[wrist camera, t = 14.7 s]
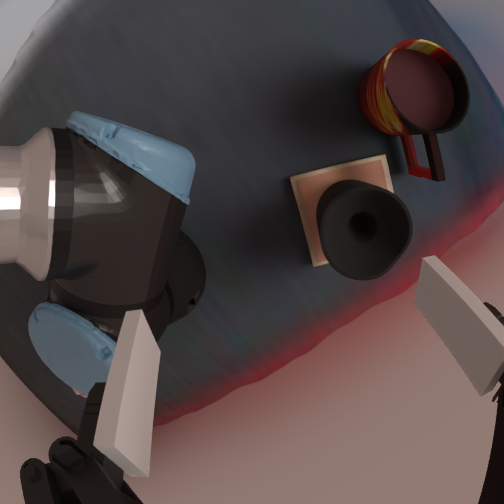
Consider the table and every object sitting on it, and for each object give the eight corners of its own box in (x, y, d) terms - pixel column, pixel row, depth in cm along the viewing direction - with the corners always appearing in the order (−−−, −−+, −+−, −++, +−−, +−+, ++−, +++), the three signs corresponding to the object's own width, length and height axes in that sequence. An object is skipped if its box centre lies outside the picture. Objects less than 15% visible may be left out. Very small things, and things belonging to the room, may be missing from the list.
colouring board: (313, 263, 42) (313, 267, 41) (289, 176, 39) (289, 177, 37) (399, 241, 40) (402, 244, 38) (382, 154, 36) (385, 154, 35)
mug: (407, 176, 37) (449, 189, 25) (340, 91, 34) (361, 70, 23) (453, 135, 34) (503, 136, 22) (391, 53, 31) (426, 23, 20)
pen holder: (389, 240, 38) (416, 268, 29) (321, 255, 40) (330, 289, 31) (377, 169, 36) (405, 177, 26) (304, 184, 37) (310, 197, 28)
